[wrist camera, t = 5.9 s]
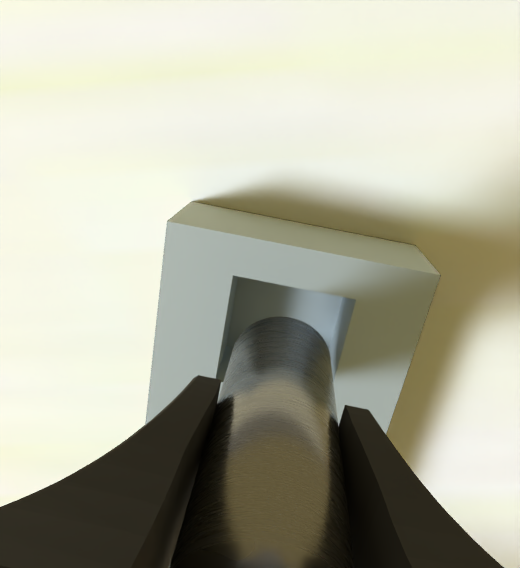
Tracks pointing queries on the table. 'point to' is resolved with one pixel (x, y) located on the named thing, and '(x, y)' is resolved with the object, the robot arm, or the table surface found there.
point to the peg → (271, 460)
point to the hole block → (288, 301)
